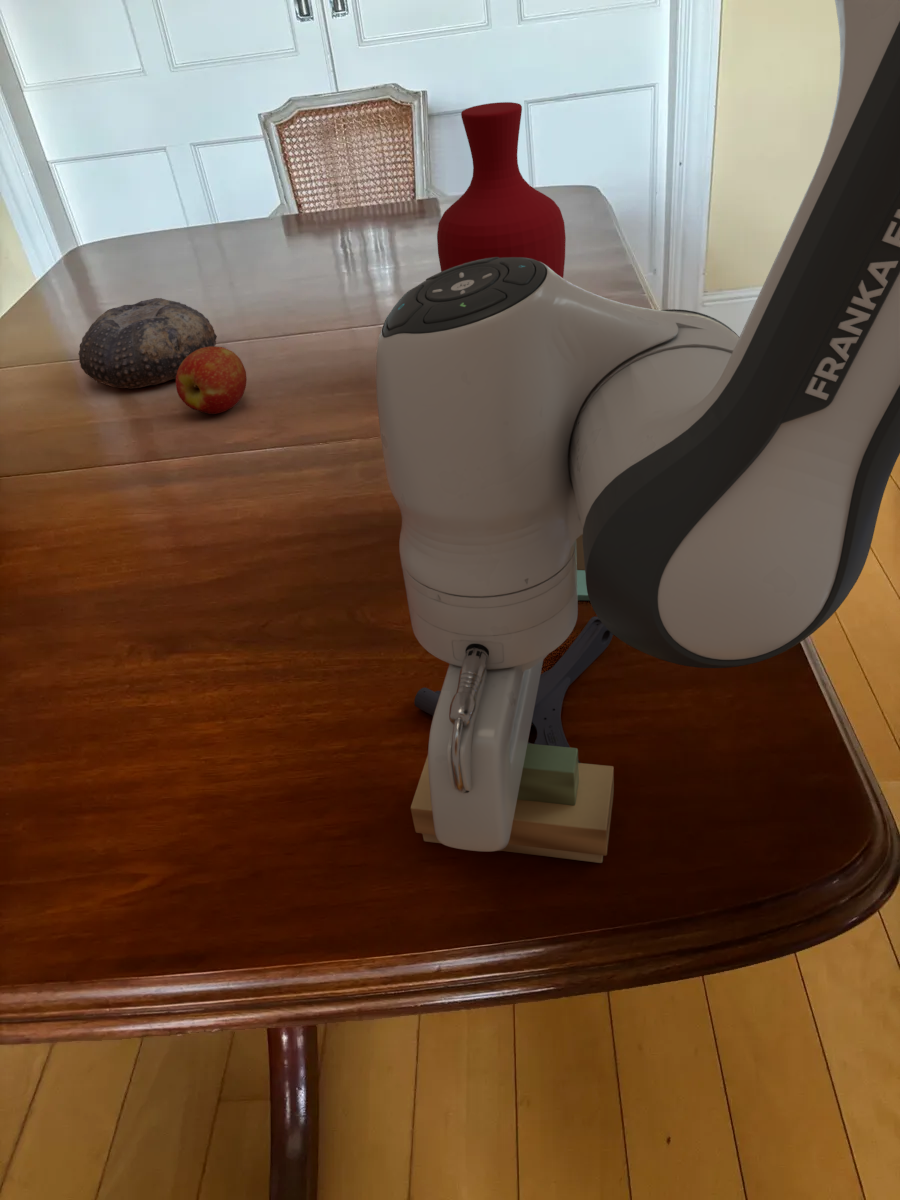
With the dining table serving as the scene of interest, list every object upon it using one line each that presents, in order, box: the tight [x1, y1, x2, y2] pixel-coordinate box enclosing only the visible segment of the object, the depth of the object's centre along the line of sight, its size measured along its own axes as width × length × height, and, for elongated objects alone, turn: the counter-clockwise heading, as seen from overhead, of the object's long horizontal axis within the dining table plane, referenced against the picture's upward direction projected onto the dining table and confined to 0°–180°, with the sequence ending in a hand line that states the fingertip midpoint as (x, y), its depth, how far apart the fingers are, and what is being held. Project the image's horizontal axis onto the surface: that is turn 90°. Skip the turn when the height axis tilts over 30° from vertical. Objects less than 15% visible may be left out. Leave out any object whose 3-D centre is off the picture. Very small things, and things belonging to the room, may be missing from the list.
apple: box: [175, 346, 248, 415], centre depth 112 cm, size 8×8×8 cm
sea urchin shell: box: [78, 297, 218, 390], centre depth 125 cm, size 19×19×10 cm
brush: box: [410, 743, 615, 864], centre depth 56 cm, size 12×5×7 cm, turn 77°
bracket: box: [413, 615, 614, 763], centre depth 66 cm, size 14×15×3 cm
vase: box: [436, 101, 567, 279], centre depth 104 cm, size 15×15×30 cm
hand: (508, 768), depth 55 cm, fingers open, 8 cm apart
